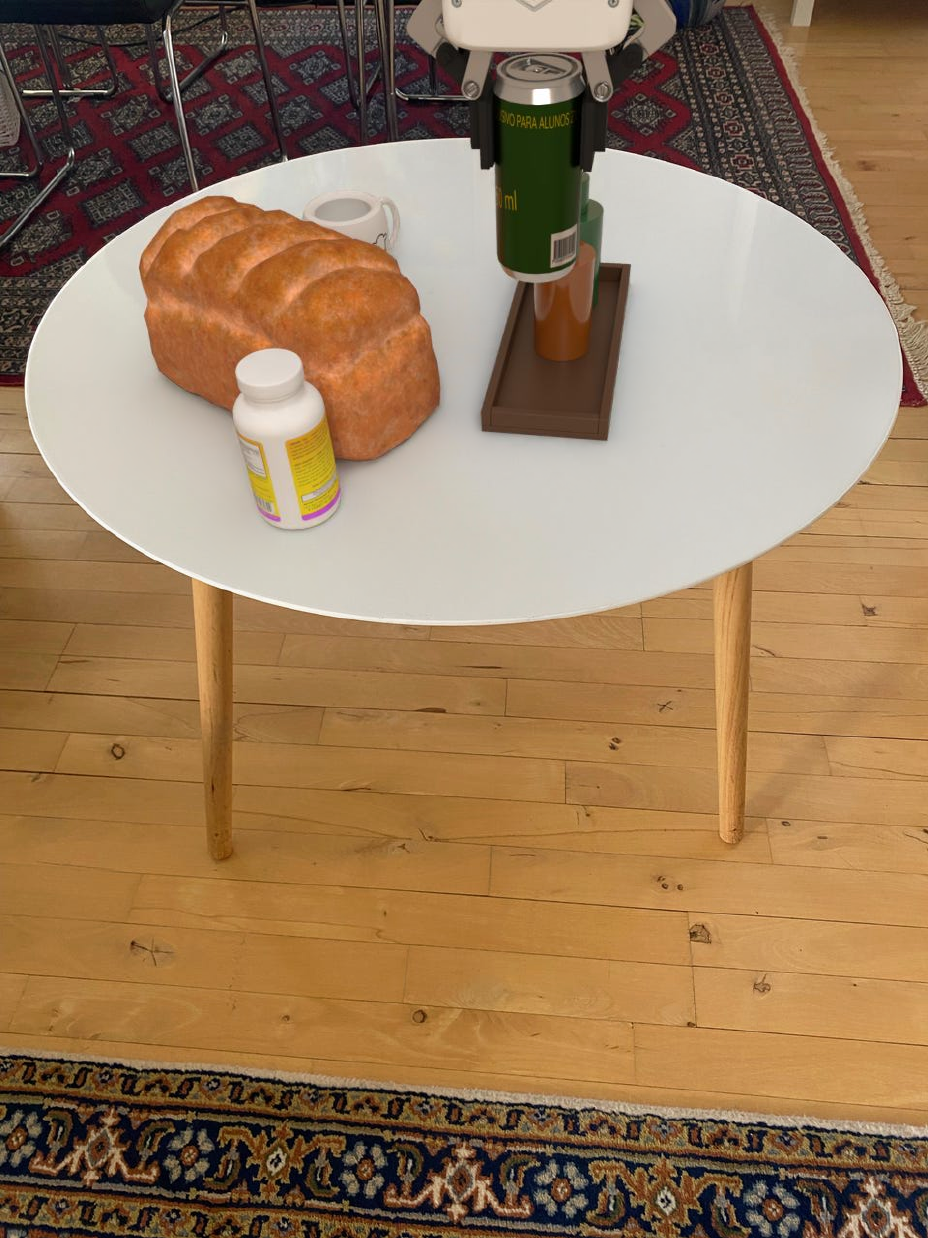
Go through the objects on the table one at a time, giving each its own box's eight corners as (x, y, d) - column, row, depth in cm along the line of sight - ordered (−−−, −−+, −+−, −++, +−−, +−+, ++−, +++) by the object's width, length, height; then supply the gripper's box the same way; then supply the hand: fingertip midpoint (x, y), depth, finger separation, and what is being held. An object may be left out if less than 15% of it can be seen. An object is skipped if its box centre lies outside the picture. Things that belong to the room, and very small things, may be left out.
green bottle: (600, 287, 97) (608, 164, 88) (595, 315, 94) (603, 190, 85) (548, 284, 98) (550, 162, 89) (541, 312, 95) (543, 188, 86)
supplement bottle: (349, 479, 80) (325, 340, 71) (333, 535, 76) (306, 395, 66) (268, 476, 81) (234, 339, 71) (249, 532, 76) (209, 393, 67)
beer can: (594, 259, 65) (605, 62, 56) (545, 293, 63) (548, 92, 54) (530, 236, 68) (530, 44, 59) (480, 269, 65) (472, 72, 56)
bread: (251, 311, 98) (215, 153, 87) (461, 399, 87) (451, 230, 75) (143, 378, 91) (88, 216, 80) (356, 484, 80) (328, 311, 68)
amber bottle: (592, 331, 92) (600, 205, 83) (587, 363, 89) (594, 235, 80) (537, 328, 93) (539, 203, 84) (530, 359, 89) (530, 232, 81)
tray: (629, 283, 99) (631, 263, 97) (607, 440, 82) (608, 420, 80) (524, 277, 100) (524, 258, 99) (481, 431, 84) (480, 410, 82)
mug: (355, 311, 98) (344, 234, 92) (294, 286, 101) (280, 211, 95) (432, 260, 104) (426, 185, 98) (372, 239, 107) (363, 166, 102)
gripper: (348, -205, 46) (388, 185, 59) (726, -217, 43) (679, 193, 57) (383, -233, 51) (413, 133, 64) (725, -245, 48) (682, 138, 62)
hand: (538, 158), depth 60 cm, fingers closed on beer can, 5 cm apart
